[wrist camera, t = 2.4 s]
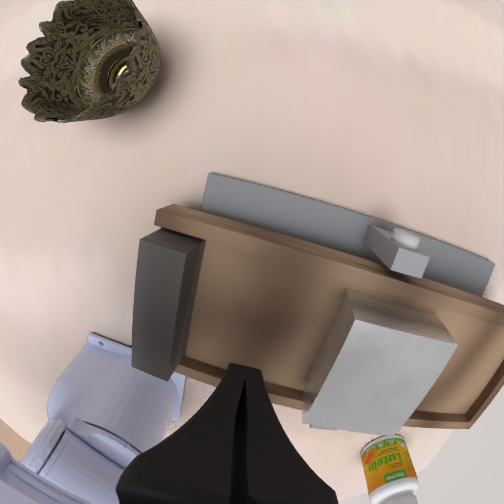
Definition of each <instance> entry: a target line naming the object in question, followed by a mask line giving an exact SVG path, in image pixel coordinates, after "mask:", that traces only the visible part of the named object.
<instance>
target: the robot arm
mask: <svg viewBox="0 0 504 504" xmlns="http://www.w3.org/2000/svg"><path fill="white" fill-rule="evenodd" d="M87 339H88V343H87V345H86V346H85V347H84V348H83V349H82V350H81V352H80V353H79V354H78V355H77V356H76V358H75V359H74V360H73V361H72V362H71V364H70V365H69V366H68V367H67V368H66V370H65V371H64V372H63V373H62V374H61V376H60V377H59V378H58V380H57V381H56V383H55V384H54V386H53V388H52V391H51V393H50V396H49V400H48V405H47V415H48V420H49V421H48V423H47V424H46V425H45V426H44V428H43V429H42V430H41V432H40V433H39V434H38V436H37V437H36V439H35V440H34V441H33V443H32V444H31V446H30V447H29V449H28V450H27V452H26V453H25V455H24V456H23V458H22V460H21V461H20V462H18V461H17V460H15V459H14V458H12V456H11V454H10V452H9V451H8V449H7V448H6V447H5V446H4V445H3V444H1V443H0V504H338V500H337V496H336V493H335V491H334V490H333V489H332V488H331V487H330V486H328V485H327V484H326V483H325V482H324V481H323V480H322V479H321V478H319V477H318V476H317V474H316V473H315V472H314V471H313V470H312V469H311V468H310V467H309V466H308V464H307V463H306V462H305V461H304V459H303V458H302V457H301V456H300V454H299V453H298V452H297V450H296V449H295V448H294V446H293V445H292V443H291V442H290V440H289V438H288V437H287V435H286V433H285V431H284V430H283V428H282V426H281V424H280V422H279V420H278V418H277V416H276V413H275V411H274V409H273V406H272V403H271V401H270V398H269V395H268V393H267V389H266V386H265V383H264V379H263V374H262V371H261V370H260V369H257V368H253V367H248V366H244V365H240V364H236V363H229V364H228V367H227V370H226V372H225V374H224V376H223V378H222V380H221V382H220V383H219V385H218V386H217V388H216V389H215V391H214V392H213V393H212V395H211V396H210V397H209V399H208V400H207V401H206V402H205V403H204V405H203V406H202V407H201V408H200V409H199V410H198V411H197V412H196V413H195V414H194V415H193V416H192V417H191V418H190V419H189V420H188V421H187V422H186V423H185V424H184V425H183V426H181V427H180V428H179V429H178V430H177V431H175V432H174V433H173V434H171V435H170V436H169V437H167V438H166V439H164V440H163V437H164V434H165V432H166V429H167V426H168V423H169V421H170V420H171V421H175V422H176V421H178V420H179V417H180V411H181V404H182V398H183V391H184V385H185V379H186V376H184V375H181V374H179V373H176V372H174V373H173V374H172V376H171V378H170V379H169V381H168V382H167V381H164V380H162V379H159V378H157V377H154V376H152V375H150V374H147V373H145V372H143V371H140V370H138V369H136V368H133V367H131V359H132V348H130V347H127V346H124V345H122V344H119V343H116V342H113V341H111V340H108V339H106V338H103V337H100V336H98V335H95V334H93V333H91V334H89V335H88V337H87ZM162 440H163V441H162Z"/></svg>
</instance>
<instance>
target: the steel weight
mask: <svg viewBox="0 0 504 504" xmlns="http://www.w3.org/2000/svg"><path fill="white" fill-rule="evenodd" d="M457 346H458V344H457V342H456V341H455V339H454V338H453V337H452V335H451V334H450V332H449V331H448V330H447V328H446V327H445V325H444V324H443V323H442V321H441V320H440V319H439V317H438V316H437V315H436V313H433V312H430V311H426V310H423V309H419V308H416V307H412V306H409V305H405V304H402V303H398V302H394V301H391V300H387V299H384V298H380V297H377V296H373V295H370V294H366V293H363V292H359V291H356V290H352V289H349V288H346V289H345V291H344V294H343V296H342V299H341V301H340V304H339V306H338V308H337V311H336V313H335V316H334V318H333V320H332V323H331V325H330V328H329V330H328V332H327V334H326V337H325V339H324V341H323V343H322V346H321V348H320V350H319V352H318V354H317V357H316V359H315V361H314V363H313V365H312V367H311V369H310V372H309V374H308V376H307V378H306V380H305V382H304V392H303V411H302V423H306V424H311V425H316V426H322V427H327V428H333V429H339V430H346V431H352V432H360V433H368V434H376V435H386V436H394V435H395V434H396V433H397V432H398V431H399V429H400V428H401V427H402V426H403V425H404V423H405V422H406V421H407V420H408V418H409V417H410V416H411V414H412V413H413V412H414V411H415V409H416V408H417V407H418V405H419V404H420V403H421V401H422V400H423V398H424V397H425V396H426V394H427V393H428V391H429V390H430V389H431V387H432V386H433V384H434V383H435V381H436V380H437V378H438V377H439V375H440V374H441V372H442V371H443V369H444V367H445V366H446V364H447V363H448V361H449V359H450V358H451V356H452V354H453V353H454V351H455V349H456V348H457Z"/></svg>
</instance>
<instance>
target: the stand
mask: <svg viewBox="0 0 504 504" xmlns="http://www.w3.org/2000/svg"><path fill="white" fill-rule="evenodd" d="M201 211H202V212H205V213H209V214H213V215H216V216H220V217H223V218H227V219H231V220H234V221H238V222H241V223H245V224H248V225H252V226H255V227H259V228H262V229H266V230H269V231H273V232H276V233H280V234H283V235H287V236H290V237H294V238H297V239H300V240H304V241H307V242H310V243H314V244H317V245H321V246H324V247H327V248H331V249H334V250H337V251H340V252H344V253H347V254H350V255H353V256H357V257H360V258H363V259H366V260H370V261H373V262H376V263H379V264H382V265H386V266H387V267H388V268H389V269H390V270H393V271H396V272H400V273H403V274H407V275H410V276H414V277H417V278H422V277H423V278H426V279H429V280H432V281H435V282H438V283H441V284H444V285H447V286H450V287H453V288H456V289H459V290H462V291H465V292H468V293H471V294H474V295H477V296H480V297H481V296H482V294H483V292H484V290H485V287H486V285H487V283H488V281H489V278H490V276H491V273H492V271H493V268H494V266H495V264H494V263H493V262H491V261H490V260H488V259H485V258H483V257H480V256H478V255H476V254H473V253H471V252H468V251H466V250H463V249H461V248H458V247H455V246H453V245H450V244H448V243H445V242H442V241H440V240H437V239H434V238H432V237H429V236H426V235H424V234H421V233H418V232H415V231H412V230H410V229H407V228H404V227H401V226H398V225H395V224H392V223H389V222H386V221H383V220H380V219H377V218H374V217H371V216H368V215H365V214H362V213H359V212H356V211H352V210H349V209H346V208H343V207H339V206H336V205H333V204H329V203H326V202H323V201H319V200H316V199H312V198H309V197H305V196H302V195H298V194H295V193H291V192H287V191H284V190H280V189H276V188H272V187H269V186H265V185H261V184H257V183H253V182H249V181H245V180H241V179H237V178H233V177H228V176H224V175H220V174H216V173H209V174H208V179H207V183H206V188H205V192H204V197H203V202H202V206H201ZM310 428H317V429H327V430H337V429H333V428H327V427H322V426H316V425H311V424H310Z"/></svg>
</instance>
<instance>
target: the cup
mask: <svg viewBox="0 0 504 504" xmlns="http://www.w3.org/2000/svg"><path fill="white" fill-rule="evenodd" d="M39 28H40V32H41V31H42V33H43V34H44V35H45V37H40V38H37V39H36V40H34V41H32V42H30V43H28V44H27V47H26V48H27V50H28V51H29V54H31V55H27V56H26V57H25V58H23V59H22V60H21V65H22V67H23V68H24V70H25V71H26V72H27V73H29V74H30V75H31V76H29V77H24V78H20V79H19V85H20V86H21V87H23V88H26V89H27V92H28V93H27V94H26V95H25V96H24V98H23V100H22V103H21V105H22V106H23V107H24V108H25V109H26V110H28V111H29V112H31V113H34V114H35V116H34V119H35V120H36V121H39V122H46V121H55V122H58V123H62V122H63V123H67V122H75V121H85V120H95V119H102V118H107V117H112V116H115V115H118V114H120V113H123V112H125V111H127V110H128V109H130V108H132V107H133V106H134V105H136V104H137V103H138V102H139V101H141V100H142V99H143V98H144V97H145V95H146V94H147V93H148V92H149V90H150V89H151V87H152V86H153V84H154V82H155V80H156V77H157V75H158V71H159V66H160V50H159V45H158V42H157V39H156V37H155V35H154V33H153V31H152V29H151V28H150V26H149V25H148V23H147V22H146V20H145V19H144V17H143V16H142V14H141V13H140V11H139V10H138V9H137V7H136V6H135V4H134V2H133V1H132V0H73V1H71V0H69V1H61V2H58V4H57V5H56V6H55V10H54V13H53V19H52V21H45V22H40V23H39Z"/></svg>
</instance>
